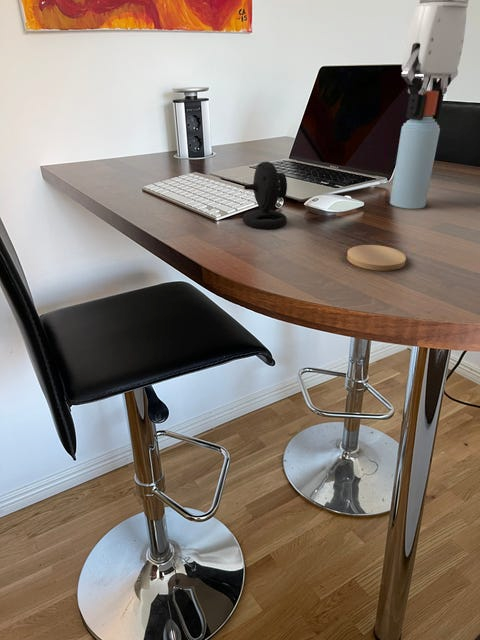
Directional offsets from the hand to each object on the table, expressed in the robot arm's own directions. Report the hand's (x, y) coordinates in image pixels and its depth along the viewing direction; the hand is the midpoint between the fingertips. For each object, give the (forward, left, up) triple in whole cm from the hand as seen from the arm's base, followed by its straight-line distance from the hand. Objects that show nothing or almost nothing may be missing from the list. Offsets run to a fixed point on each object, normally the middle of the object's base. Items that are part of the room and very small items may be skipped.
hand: (422, 117), depth 89 cm
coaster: (+28, +17, -16) cm, 36 cm away
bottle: (0, 0, -16) cm, 16 cm away
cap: (0, 0, +1) cm, 1 cm away
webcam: (+31, -5, -16) cm, 35 cm away
